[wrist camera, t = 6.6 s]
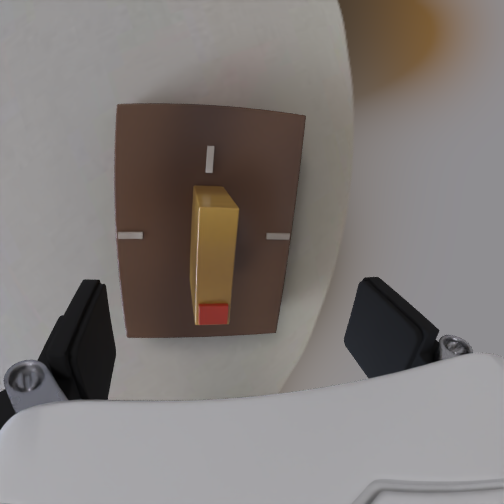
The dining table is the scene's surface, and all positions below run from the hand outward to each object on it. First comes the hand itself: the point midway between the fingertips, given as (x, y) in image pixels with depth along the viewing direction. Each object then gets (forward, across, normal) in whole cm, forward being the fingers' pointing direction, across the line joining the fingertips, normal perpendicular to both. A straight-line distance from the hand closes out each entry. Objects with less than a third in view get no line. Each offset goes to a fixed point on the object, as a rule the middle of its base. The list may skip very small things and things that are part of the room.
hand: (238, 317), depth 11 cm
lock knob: (+7, +1, -1) cm, 7 cm away
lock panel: (+10, +1, -1) cm, 10 cm away
